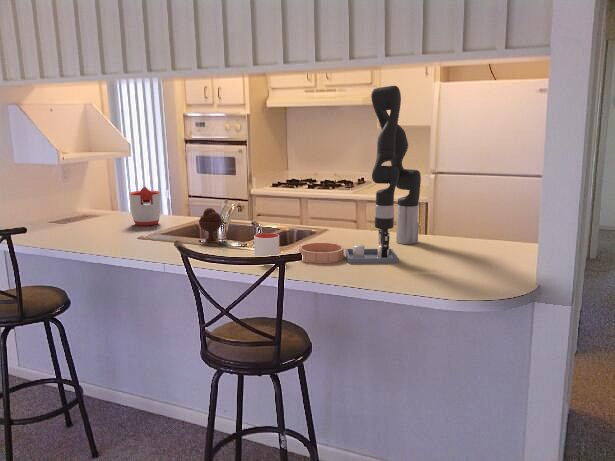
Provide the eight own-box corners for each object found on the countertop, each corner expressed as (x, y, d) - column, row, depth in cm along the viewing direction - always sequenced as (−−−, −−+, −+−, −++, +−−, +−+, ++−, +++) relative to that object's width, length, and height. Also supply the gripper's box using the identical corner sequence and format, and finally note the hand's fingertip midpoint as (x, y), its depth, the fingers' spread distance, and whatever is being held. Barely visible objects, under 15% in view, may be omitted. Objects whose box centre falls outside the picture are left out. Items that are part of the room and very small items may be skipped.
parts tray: (391, 254, 235) (392, 248, 234) (398, 264, 220) (398, 258, 219) (345, 254, 235) (345, 248, 234) (348, 264, 219) (348, 258, 219)
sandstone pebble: (388, 256, 229) (388, 244, 228) (389, 259, 225) (390, 247, 224) (376, 256, 229) (377, 244, 228) (378, 259, 225) (378, 247, 224)
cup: (282, 257, 230) (282, 233, 228) (275, 263, 221) (275, 239, 219) (259, 256, 233) (258, 232, 230) (251, 262, 223) (250, 237, 221)
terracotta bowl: (341, 252, 238) (341, 242, 237) (344, 264, 220) (345, 252, 219) (299, 252, 238) (299, 242, 237) (299, 264, 220) (299, 253, 219)
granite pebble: (363, 256, 229) (363, 244, 228) (364, 259, 225) (365, 247, 224) (352, 256, 229) (352, 244, 228) (353, 259, 225) (353, 247, 224)
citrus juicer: (132, 228, 287) (130, 189, 282) (130, 222, 303) (127, 185, 298) (164, 226, 292) (162, 188, 288) (160, 220, 308) (158, 184, 304)
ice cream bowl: (194, 241, 258) (193, 209, 255) (209, 236, 268) (208, 205, 265) (213, 244, 253) (211, 211, 250) (227, 239, 263) (226, 207, 260)
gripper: (396, 219, 216) (395, 262, 220) (390, 212, 230) (389, 253, 234) (377, 219, 216) (376, 262, 220) (372, 212, 230) (371, 253, 234)
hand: (383, 257), depth 227 cm, fingers closed on sandstone pebble, 4 cm apart
